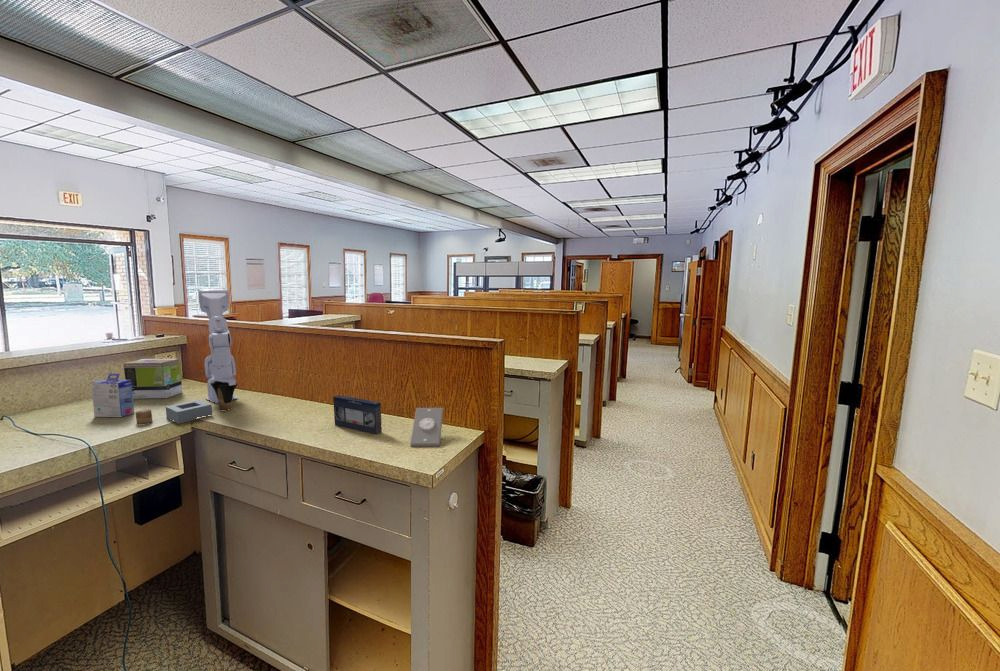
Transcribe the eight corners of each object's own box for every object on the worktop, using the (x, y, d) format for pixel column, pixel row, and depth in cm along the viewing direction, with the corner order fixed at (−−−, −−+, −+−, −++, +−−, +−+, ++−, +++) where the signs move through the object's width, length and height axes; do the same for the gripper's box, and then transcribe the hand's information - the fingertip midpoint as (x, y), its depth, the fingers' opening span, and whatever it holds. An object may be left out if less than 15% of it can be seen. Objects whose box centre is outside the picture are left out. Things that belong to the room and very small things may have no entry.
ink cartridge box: (136, 412, 149) (131, 373, 147) (121, 417, 143) (117, 376, 141) (108, 412, 149) (104, 372, 147) (93, 417, 144) (88, 376, 142)
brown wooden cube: (134, 423, 138) (133, 411, 138) (150, 420, 142) (148, 408, 141) (139, 425, 136) (137, 413, 136) (154, 422, 139) (153, 410, 139)
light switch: (409, 442, 120) (416, 405, 132) (411, 455, 124) (417, 418, 136) (439, 441, 121) (443, 405, 133) (440, 454, 124) (443, 418, 136)
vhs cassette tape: (334, 425, 138) (332, 396, 137) (341, 423, 141) (340, 394, 139) (375, 435, 130) (374, 404, 128) (382, 432, 132) (381, 402, 131)
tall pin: (217, 409, 153) (215, 388, 152) (229, 406, 156) (227, 386, 155) (222, 411, 151) (220, 390, 150) (234, 408, 154) (232, 387, 153)
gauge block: (166, 417, 144) (165, 406, 143) (199, 410, 152) (198, 399, 151) (178, 423, 138) (177, 411, 138) (212, 415, 147) (211, 404, 146)
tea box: (183, 392, 176) (180, 357, 174) (165, 399, 166) (162, 362, 164) (146, 392, 175) (142, 357, 173) (126, 399, 165) (122, 362, 163)
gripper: (200, 364, 152) (203, 400, 154) (219, 369, 144) (222, 407, 146) (222, 361, 158) (224, 396, 160) (240, 366, 150) (243, 402, 152)
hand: (225, 401), depth 153 cm, fingers closed on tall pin, 4 cm apart
